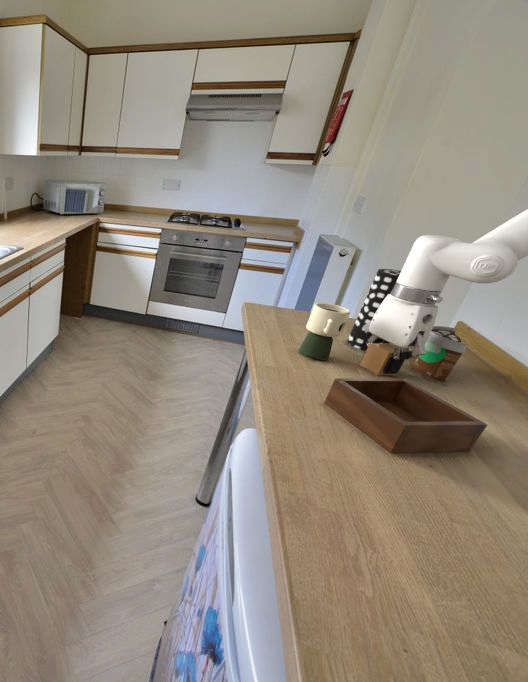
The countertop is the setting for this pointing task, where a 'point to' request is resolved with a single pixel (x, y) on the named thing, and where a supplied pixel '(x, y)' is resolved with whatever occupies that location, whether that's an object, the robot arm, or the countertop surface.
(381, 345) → the box
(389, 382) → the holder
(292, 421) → the countertop surface
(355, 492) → the countertop surface
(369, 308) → the white-spotted black cylinder
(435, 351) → the food container
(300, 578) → the countertop surface
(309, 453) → the countertop surface
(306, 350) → the character mug
